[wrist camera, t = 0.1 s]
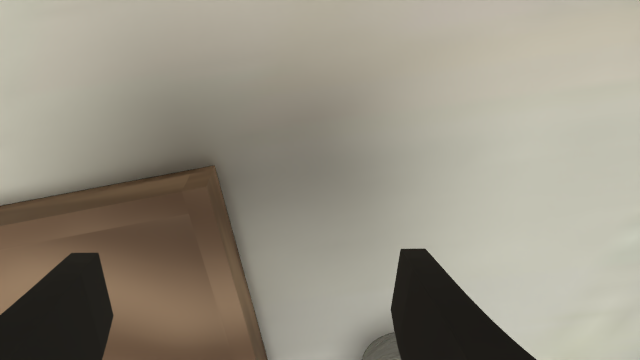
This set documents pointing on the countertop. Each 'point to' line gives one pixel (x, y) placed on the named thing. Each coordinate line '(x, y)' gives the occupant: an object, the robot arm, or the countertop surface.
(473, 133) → the countertop surface
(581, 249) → the countertop surface
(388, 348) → the steel shaker
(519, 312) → the countertop surface
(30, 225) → the walnut tray
